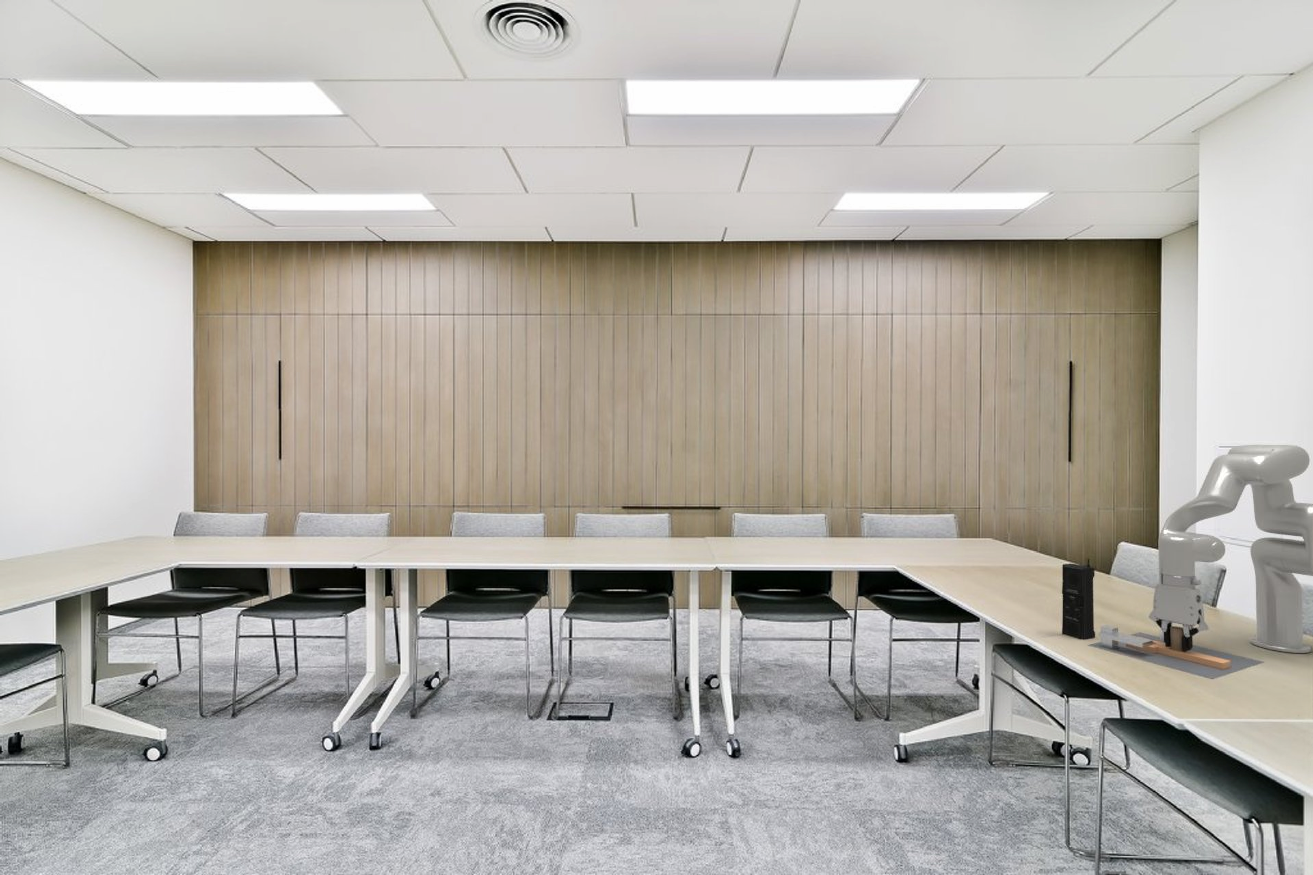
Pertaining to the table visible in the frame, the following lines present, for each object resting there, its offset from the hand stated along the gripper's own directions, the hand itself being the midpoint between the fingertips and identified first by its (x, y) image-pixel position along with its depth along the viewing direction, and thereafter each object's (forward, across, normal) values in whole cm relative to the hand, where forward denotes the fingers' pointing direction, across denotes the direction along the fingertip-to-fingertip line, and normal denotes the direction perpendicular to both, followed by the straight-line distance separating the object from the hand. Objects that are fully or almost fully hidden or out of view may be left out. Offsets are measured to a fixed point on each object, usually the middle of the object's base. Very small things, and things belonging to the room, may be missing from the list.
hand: (1178, 647), depth 168 cm
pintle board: (+4, +2, -1) cm, 4 cm away
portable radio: (+4, +24, +5) cm, 24 cm away
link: (+2, 0, 0) cm, 2 cm away
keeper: (+4, +9, +8) cm, 12 cm away
